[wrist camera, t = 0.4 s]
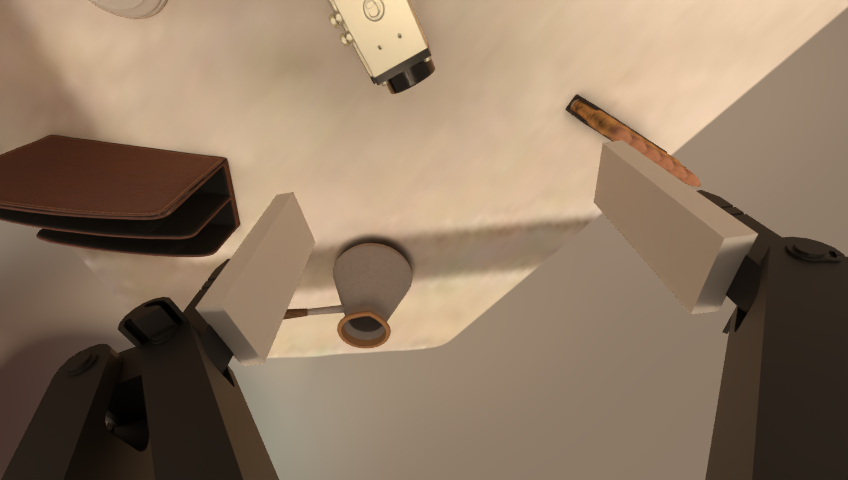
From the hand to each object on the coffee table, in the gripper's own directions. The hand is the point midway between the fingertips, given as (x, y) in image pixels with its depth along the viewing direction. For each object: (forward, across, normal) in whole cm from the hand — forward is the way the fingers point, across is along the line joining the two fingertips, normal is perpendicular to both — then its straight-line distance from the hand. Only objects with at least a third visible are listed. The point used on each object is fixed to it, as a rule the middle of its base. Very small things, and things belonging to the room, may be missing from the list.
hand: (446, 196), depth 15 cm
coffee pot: (+27, -16, -22) cm, 38 cm away
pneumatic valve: (+27, -4, +7) cm, 28 cm away
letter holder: (+27, -37, -6) cm, 46 cm away
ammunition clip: (+27, +20, -8) cm, 34 cm away
